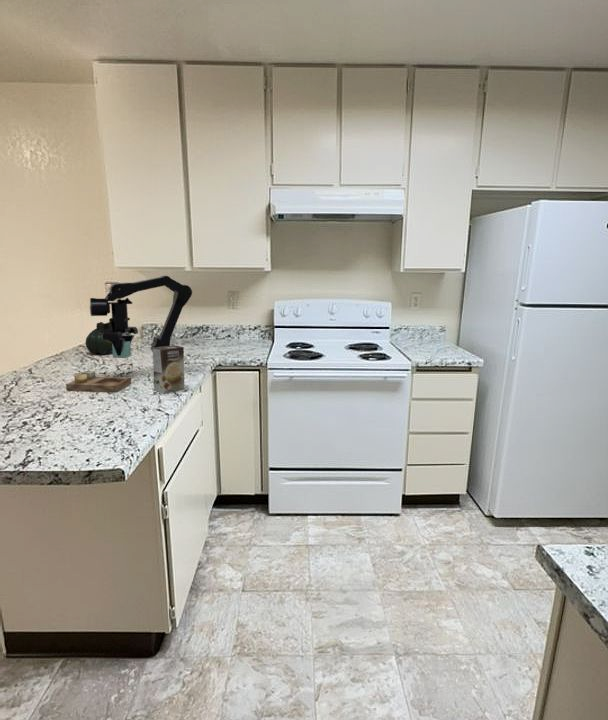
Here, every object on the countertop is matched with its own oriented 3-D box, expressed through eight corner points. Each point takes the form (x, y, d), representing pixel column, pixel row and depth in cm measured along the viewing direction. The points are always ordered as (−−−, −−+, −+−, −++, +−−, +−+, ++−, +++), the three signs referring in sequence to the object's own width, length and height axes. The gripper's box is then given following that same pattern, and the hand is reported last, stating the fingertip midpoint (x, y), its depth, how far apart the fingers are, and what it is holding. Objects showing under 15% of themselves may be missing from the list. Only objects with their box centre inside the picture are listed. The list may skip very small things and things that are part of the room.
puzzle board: (131, 383, 156) (130, 371, 155) (116, 392, 145) (115, 379, 144) (85, 382, 157) (83, 369, 156) (66, 390, 145) (65, 377, 144)
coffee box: (163, 394, 145) (161, 349, 141) (153, 390, 149) (151, 347, 145) (185, 389, 152) (184, 346, 148) (175, 385, 156) (173, 344, 152)
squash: (89, 347, 198) (107, 322, 204) (75, 344, 207) (92, 321, 213) (111, 362, 208) (128, 339, 214) (97, 359, 217) (113, 337, 223)
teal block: (131, 355, 166) (130, 341, 165) (125, 358, 161) (124, 343, 160) (118, 355, 166) (118, 340, 165) (113, 357, 161) (112, 342, 160)
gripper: (111, 312, 169) (113, 349, 172) (86, 317, 151) (89, 358, 154) (137, 313, 169) (139, 350, 172) (116, 318, 151) (118, 359, 154)
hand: (122, 354), depth 163 cm, fingers closed on teal block, 5 cm apart
